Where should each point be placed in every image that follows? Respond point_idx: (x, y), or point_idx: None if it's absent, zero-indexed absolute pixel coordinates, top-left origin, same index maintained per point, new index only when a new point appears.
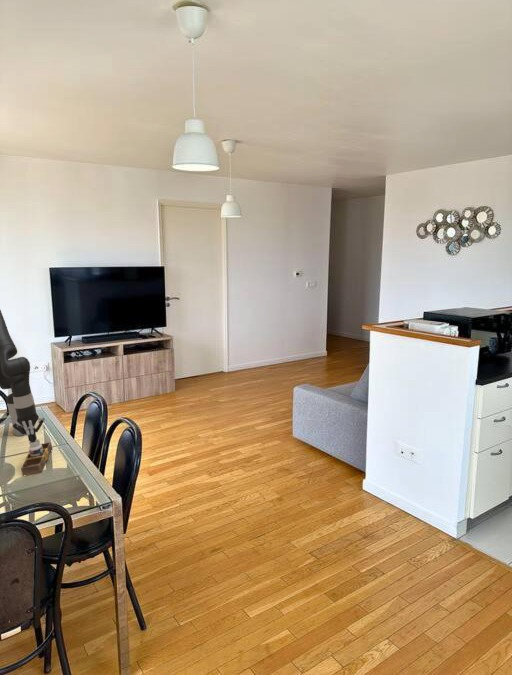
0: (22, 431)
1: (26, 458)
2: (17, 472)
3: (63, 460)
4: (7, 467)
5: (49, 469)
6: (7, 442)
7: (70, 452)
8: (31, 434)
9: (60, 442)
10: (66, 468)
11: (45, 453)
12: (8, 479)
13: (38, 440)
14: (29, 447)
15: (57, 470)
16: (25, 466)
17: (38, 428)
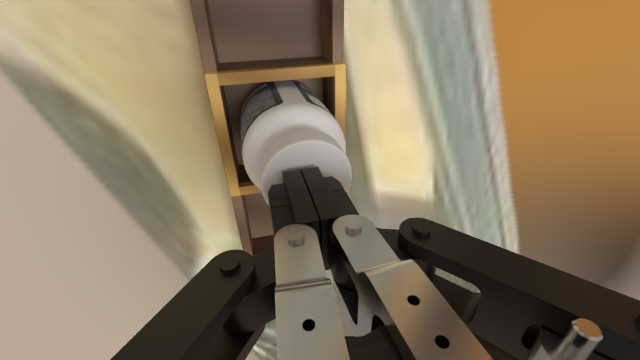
0: (237, 354)
1: (236, 187)
2: (196, 203)
3: (415, 131)
4: (74, 136)
5: (359, 201)
6: None
7: (450, 39)
8: (328, 264)
9: None
10: (429, 205)
11: (342, 129)
12: (182, 254)
13: (347, 176)
14: (254, 176)
15: (395, 214)
16: (246, 215)
17: (455, 305)
